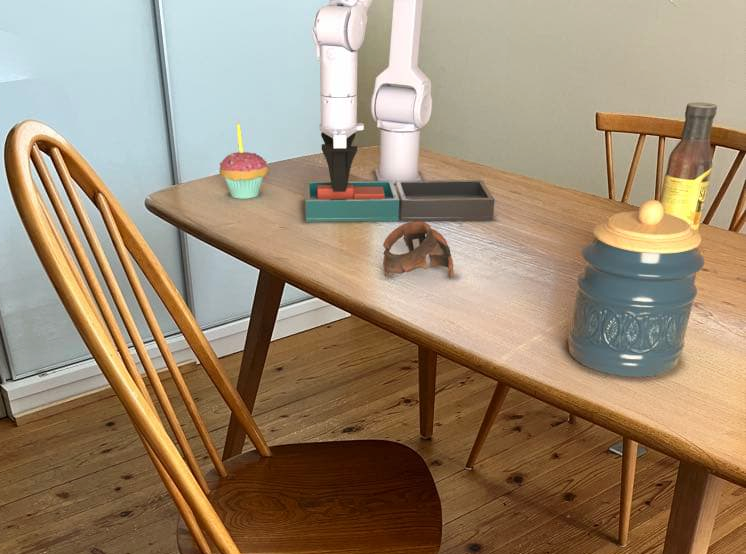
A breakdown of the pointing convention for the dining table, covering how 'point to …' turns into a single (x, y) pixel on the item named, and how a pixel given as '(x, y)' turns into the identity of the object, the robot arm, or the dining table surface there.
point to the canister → (635, 293)
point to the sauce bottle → (690, 166)
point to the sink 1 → (352, 204)
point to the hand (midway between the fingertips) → (338, 184)
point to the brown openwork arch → (416, 249)
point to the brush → (350, 192)
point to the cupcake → (243, 171)
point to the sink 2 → (444, 200)
